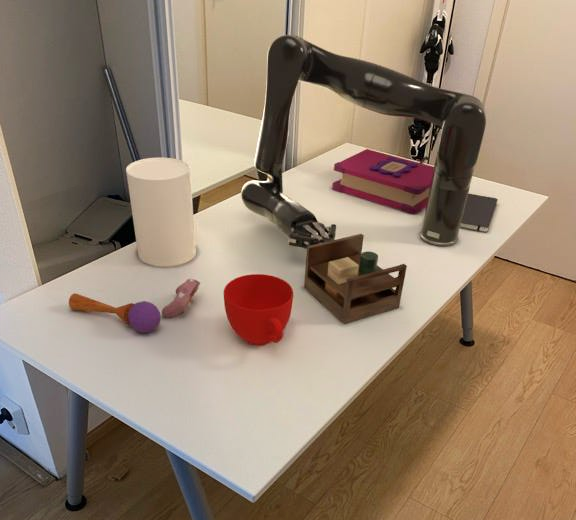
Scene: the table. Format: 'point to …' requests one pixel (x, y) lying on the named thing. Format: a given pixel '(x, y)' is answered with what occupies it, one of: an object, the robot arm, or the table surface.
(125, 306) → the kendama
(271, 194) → the robot arm
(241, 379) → the table surface
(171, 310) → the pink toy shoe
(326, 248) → the rack
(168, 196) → the canister
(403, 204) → the book
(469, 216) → the notebook
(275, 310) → the ceramic cup
